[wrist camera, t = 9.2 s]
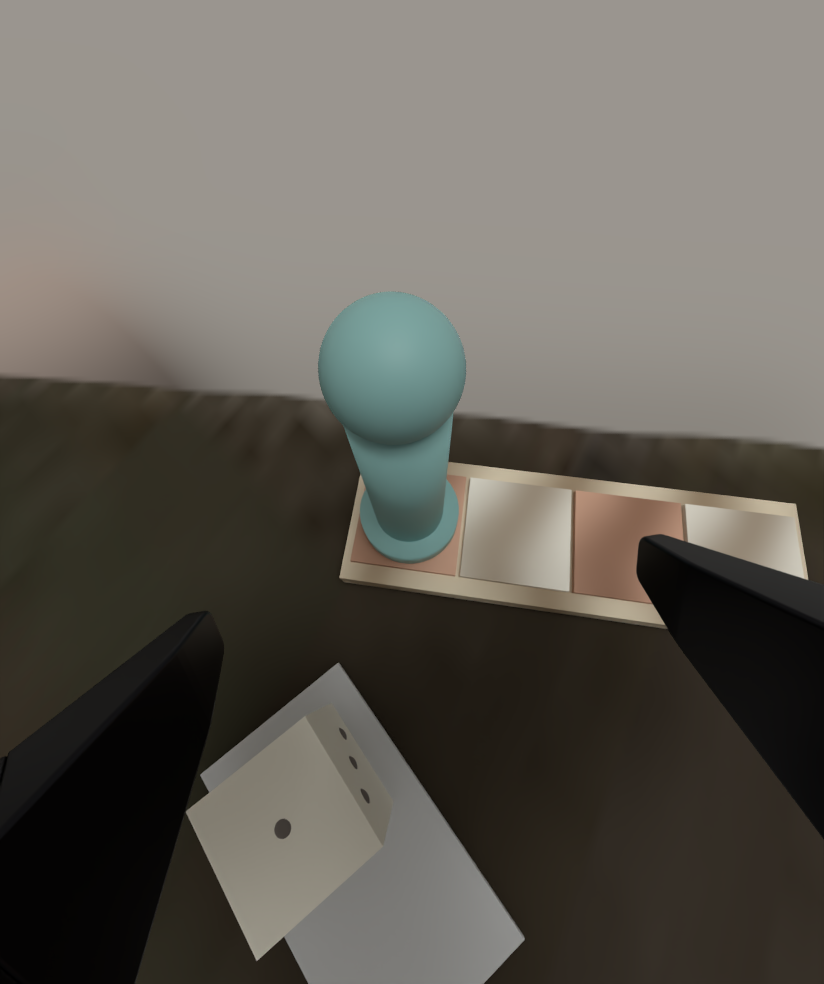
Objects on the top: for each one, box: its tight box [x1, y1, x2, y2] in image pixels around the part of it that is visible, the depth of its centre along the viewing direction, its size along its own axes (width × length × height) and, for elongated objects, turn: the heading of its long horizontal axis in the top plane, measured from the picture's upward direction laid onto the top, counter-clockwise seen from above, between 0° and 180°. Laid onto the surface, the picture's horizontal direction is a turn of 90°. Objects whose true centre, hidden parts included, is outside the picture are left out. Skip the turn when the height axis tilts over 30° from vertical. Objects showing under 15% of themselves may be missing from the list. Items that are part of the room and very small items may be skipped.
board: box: [339, 462, 808, 629], centre depth 21 cm, size 21×6×2 cm, turn 82°
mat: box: [200, 663, 525, 984], centre depth 17 cm, size 12×7×1 cm, turn 38°
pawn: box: [318, 292, 466, 564], centre depth 15 cm, size 4×4×13 cm
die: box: [186, 703, 393, 961], centre depth 16 cm, size 5×5×5 cm
